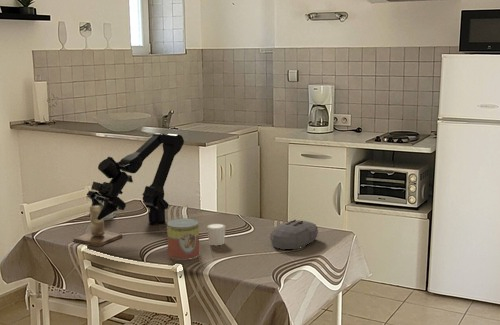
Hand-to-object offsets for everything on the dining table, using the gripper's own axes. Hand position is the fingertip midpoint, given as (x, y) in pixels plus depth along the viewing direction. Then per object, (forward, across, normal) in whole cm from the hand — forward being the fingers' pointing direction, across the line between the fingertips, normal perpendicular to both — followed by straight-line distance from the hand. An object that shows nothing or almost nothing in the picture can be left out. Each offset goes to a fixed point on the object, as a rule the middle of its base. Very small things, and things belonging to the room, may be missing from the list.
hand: (94, 218), depth 239 cm
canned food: (-1, +39, +14) cm, 41 cm away
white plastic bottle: (-10, -24, +22) cm, 34 cm away
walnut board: (+5, 0, +7) cm, 9 cm away
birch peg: (+4, 0, +6) cm, 7 cm away
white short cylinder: (-13, +39, +26) cm, 48 cm away
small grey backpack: (-26, +61, +39) cm, 77 cm away
